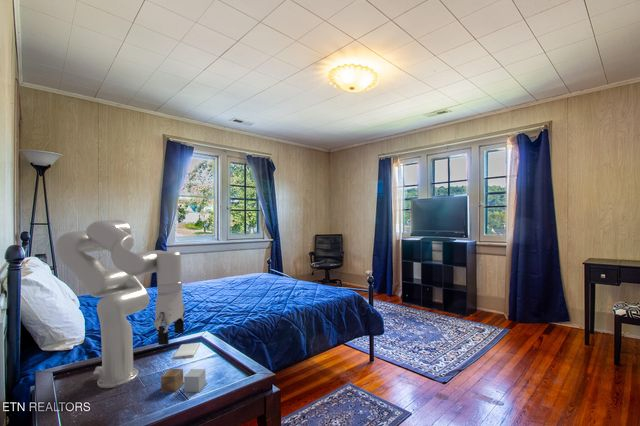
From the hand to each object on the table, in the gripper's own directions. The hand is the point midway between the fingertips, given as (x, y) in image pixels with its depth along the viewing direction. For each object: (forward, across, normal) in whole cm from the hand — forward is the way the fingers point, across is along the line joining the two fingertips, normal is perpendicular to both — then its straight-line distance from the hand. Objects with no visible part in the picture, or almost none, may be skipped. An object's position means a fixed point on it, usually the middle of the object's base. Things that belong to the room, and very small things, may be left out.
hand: (171, 338), depth 107 cm
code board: (+17, 0, +4) cm, 18 cm away
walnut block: (+17, 0, 0) cm, 17 cm away
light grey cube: (+17, 0, +8) cm, 18 cm away
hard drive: (+18, -29, -10) cm, 36 cm away
